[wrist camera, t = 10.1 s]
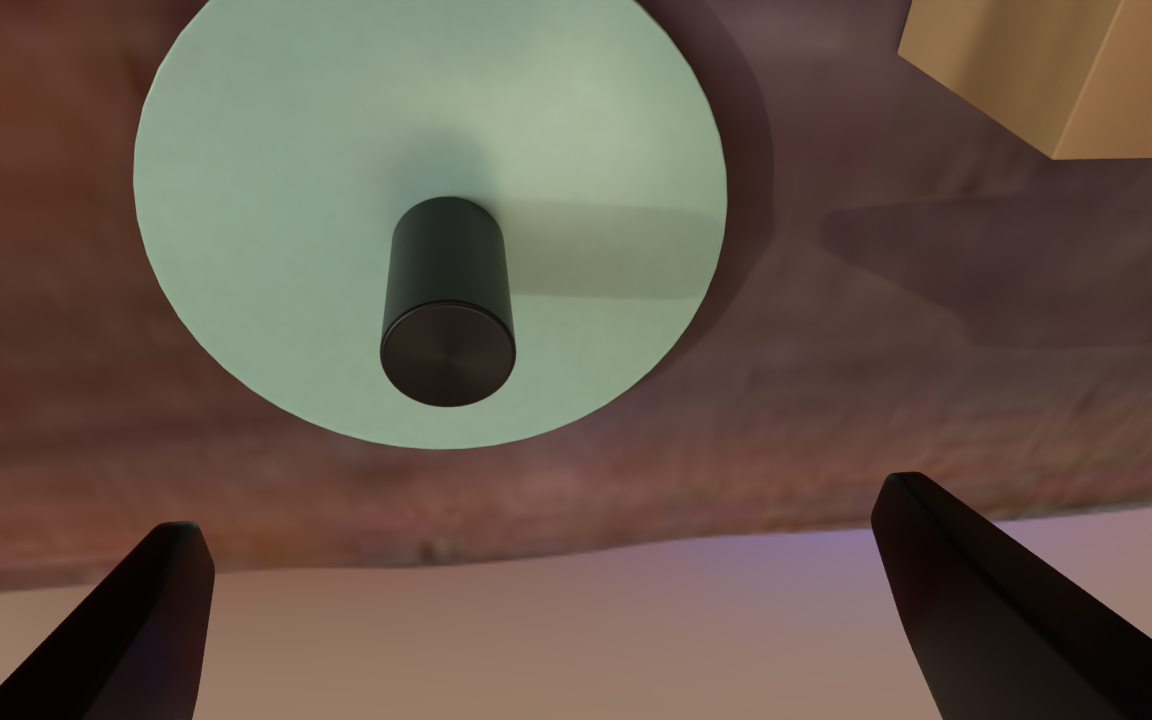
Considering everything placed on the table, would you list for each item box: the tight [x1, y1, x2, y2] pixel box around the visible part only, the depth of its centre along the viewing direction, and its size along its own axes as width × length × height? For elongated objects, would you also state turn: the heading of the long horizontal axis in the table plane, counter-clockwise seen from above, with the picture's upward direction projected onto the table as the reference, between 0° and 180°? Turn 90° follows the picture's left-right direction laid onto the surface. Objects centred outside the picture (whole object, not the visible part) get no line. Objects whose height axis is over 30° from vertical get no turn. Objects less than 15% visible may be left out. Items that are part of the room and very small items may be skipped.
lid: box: [133, 0, 728, 449], centre depth 16 cm, size 12×12×5 cm
